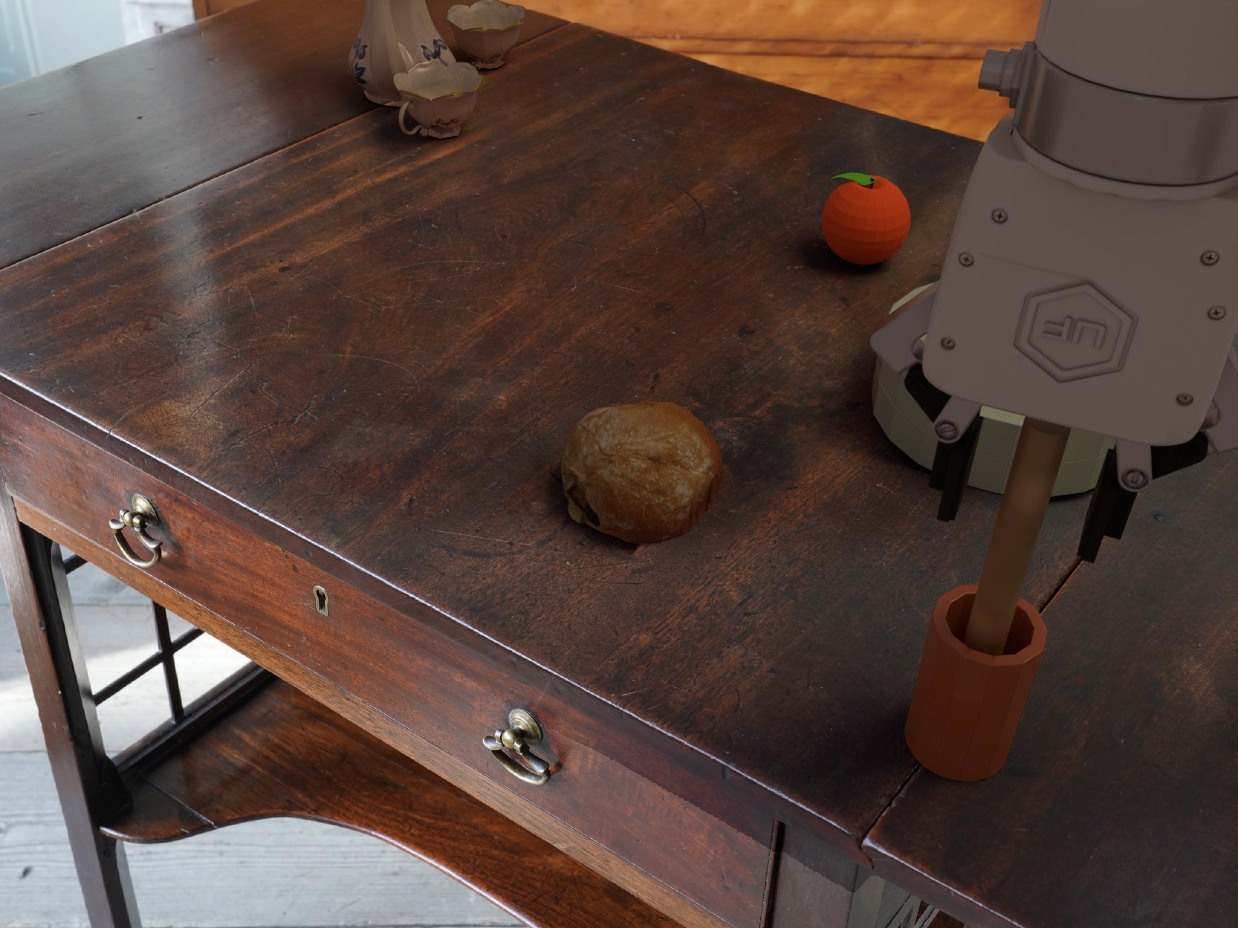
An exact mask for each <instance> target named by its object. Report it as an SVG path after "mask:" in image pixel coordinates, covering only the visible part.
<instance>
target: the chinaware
mask: <svg viewBox="0 0 1238 928" xmlns="http://www.w3.org/2000/svg"><path fill="white" fill-rule="evenodd" d="M526 13H527V11H526V9H525V7H524V6H523V5H520V4H513V5H507V4H504V3H502V2H501V1H499V0H478V1H476V2H474V3H473V4H471V5H465V4H461V3H459V4H453V5H450V7H449V8H447V10H446V17H444V21H445V25H446V26H447V27H450V29H451V31H452V34H453V37H454V40H455V42H456V44H457V45H458V47H459V48H460V50H461V51H462V52H463V53H465V54H466V55H467V56H468V57H470V58H471V59H472V60H473V59H474V60H479V62H481V64H483V63H485V64H493V63H496V62H497V61H498V60H499V59H501V60H502V58H505V57H506V56H507V55H509V54H510V53H511V52H512V51H513V49H514V48H515V46H516V45H517V42H518V40H519V37H520V33H521V28H522V25H523V23H524V22H525V20H526ZM347 64H348V67H349V69H350V70H351V71H352V76H353V79H354V81H355V82H356V83H357V85H358V86H359V87H361V88H362V89H363V91H364V90H366V91H367V93H368V94H369V95H371V96H373V97H375V98H378V99H381V100H386V101H393V102H402V101H404V104H403V106H402V107H400V109H399V113H398V124H399V128H400V130H401V132H402V133H404V134H405V135H408V136H413V135H414V134H416V133H417V132H418V130H419V129H420V130H419V134H420V136H422V137H428V136H427V135H428V134H429V130H428V128H430V129H431V130H433V131H435V132H436V133H440V135H443V134H444V133H455V130H454V129H456V128H455V127H457V126H462V124H463V123H465V122H466V121H467V120H468V119H469V118H470V117H471V115H472V113H473V111H474V110H475V107H476V104H477V100H478V96H479V91H480V89H481V88H482V87H483V86H485V85H486V83H487V78H486V77H485V75H484V74H480V72H479V70H478V68H476V67H475V66H473V64H471V62H466V61H457V60H456V58H455V55H454V54H453V53H452V51H451V50H450V48H449V46H448V44H447V42H446V41H445V39H444V38H443V36H442V35H441V34H440V32H439V31H438V29H437V28H436V27H435V24H434V22H433V20H432V18H431V15H430V12H429V9H428V6H427V3H426V0H365V7H364V13H363V19H362V24H361V28H360V30H359V33H358V35H357V37H356V38H355V40H354V43H353V45H352V46H351V49H350V51H349V54H348V58H347ZM406 111H407V112H408V114H409V115H410V116H411V118H412V119H413V120H414V121H415V122H417V123H418V124H419V125H417V126H415V127H414V128H413V129H412V130H411V131H408V130H407V129H406V127H405V113H406Z"/></svg>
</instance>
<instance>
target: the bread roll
mask: <svg viewBox="0 0 1238 928" xmlns="http://www.w3.org/2000/svg"><path fill="white" fill-rule="evenodd" d="M718 442H719V440H717V439H716V438H714V436H713V435H712V433H711V432H710V430H709V429H708V427H707V426H706V424H705V422H704V421H702V420H700V419H699V418H697V417H696V416H695V415H694V414H693V413H692V412H691V411H690V410H689V409H686V408H685V407H683V406H681V405H679V404H677V403H675V402H672V401H659V402H658V401H654V400H643V401H640V402H638V403H637V404H621V405H613V406H604V407H597V408H596V409H594V410H592V411H590V412H588V413H586V414H585V415H584V416H583V417H582V418H581V419H580V420H579V421H577V422H576V424H575V425H574V426H573V428H572V429H571V431H570V433H569V435H567V438H566V441H565V444H564V446H563V449H562V451H561V454H560V465H561V466H560V467H561V468H560V469H561V470H560V471H561V482H562V487H563V491H564V497H565V498H566V499H567V501H568V506H567V513H568V514H569V516H570V518H571V520H572V521H573V520H574V521H575V522H577V523H579V524H585V525H587V526H589V527H591V528H593V530H596V531H597V532H600V533H602V534H605V535H609V536H612V537H614V538H617V539H620V540H622V541H624V542H626V543H628V544H629V543H630V544H636V545H641V544H642V543H656V542H663V541H667V540H671V539H674V538H678V537H680V536H683V535H685V534H686V533H688V532H690V531H692V530H693V529H694V527H695V526H697V525H698V524H699V522H700V520H701V519H702V518H703V517H704V513H707V512H708V511H709V510H710V508H711V506H713V504H714V502H715V499H716V498H717V496H718V494H719V489H720V487H721V486H722V485H721V484H722V482H723V472H724V461H723V457H722V456H723V455H722V452H721V449H720V446H719V443H718Z"/></svg>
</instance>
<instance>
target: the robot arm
mask: <svg viewBox="0 0 1238 928" xmlns="http://www.w3.org/2000/svg"><path fill="white" fill-rule="evenodd" d="M977 89H978V90H983V91H990V92H996V93H998V97H1001V98H1007V99H1009V102H1008V108H1009V109H1014V111H1013V112H1010V113H1008V114H1007V115H1005V116H1003V117H1002V118H1001V119H1000V120H999V121H998V122H997V124H996V125H995V127H993V128H992V130H991V131H990V132H989V134H988V135H987V138H986V140H985V142H984V144H983V146H982V148H981V151H980V153H979V155H978V158H977V159H976V161H975V165H974V166H973V171H972V172H971V175H970V177H969V180H968V183H967V186H966V189H965V190H964V194H963V197H962V199H961V203H960V206H959V209H958V212H957V215H956V220H955V222H954V226H953V229H952V234H951V237H950V240H949V243H948V247H947V252H946V255H945V258H944V261H943V265H942V270H941V274H940V278H939V279H938V280H936V281H935V283H934V282H932V283H933V284H932V285H931V286H929V287H928V288H926V289H925V290H923V291H922V292H920V293H919V294H918V295H916V296H915V297H913V298H912V299H910V300H909V301H908V302H906V303H905V304H903V305H902V306H900V307H899V308H897V309H896V310H895V311H893V312H892V313H890V314H889V313H888V314H889V315H888V314H887V315H886V316H884V317H883V318H881V319H880V320H879V322H878V323H877V324H876V326H875V329H874V330H873V332H872V334H871V336H870V339H869V347H871V349H872V350H873V352H874V353H875V354H876V355H877V356H879V357H880V358H881V359H882V360H883V361H884V362H885V363H886V364H887V365H888V366H889V367H890V369H891V370H892V371H893V372H894V373H895V374H896V375H898V374H899V375H900V376H901V378H902V379H903V380H904V385H905V388H906V389H907V391H908V392H909V393H910V395H911V396H912V397H913V399H914V400H915V401H916V402H917V404H918V405H919V406H920V407H921V409H922V410H923V411H924V413H925V414H926V415H927V416H928V418H929V419H930V420H931V422H932V423H933V426H932V433H933V435H934V437H935V438H936V439H937V440H938V444H937V448H936V453H935V457H934V462H933V466H932V470H930V476H929V479H928V480H929V481H928V485H927V486H928V488H929V489H932V490H937V491H940V492H942V493H941V496H940V497H941V498H940V501H939V506H938V510H937V515H936V520H938V521H942V522H944V523H950V521H952V522H955V520H956V517H957V514H958V511H959V509H960V506H961V503H962V500H963V499H964V495H965V492H966V490H967V486H968V485H967V483H968V480H969V476H970V472H971V468H972V464H973V460H974V456H975V452H976V448H977V444H978V440H979V436H980V432H981V428H982V424H983V420H984V416H980V412H981V408H982V406H987V407H991V408H994V409H998V410H1002V411H1006V412H1010V413H1014V414H1018V415H1022V416H1026V417H1030V418H1034V419H1038V420H1042V421H1046V422H1050V423H1054V424H1058V425H1062V426H1066V427H1070V428H1074V429H1078V430H1082V431H1086V432H1090V433H1094V434H1099V435H1103V436H1107V437H1111V438H1115V439H1116V443H1115V446H1114V449H1110V448H1108V451H1107V454H1106V457H1105V460H1104V463H1103V466H1102V469H1101V472H1100V475H1099V478H1098V481H1097V484H1096V487H1095V488H1094V489H1093V493H1092V496H1091V498H1090V502H1089V505H1088V507H1087V511H1086V514H1085V518H1084V522H1083V526H1082V531H1081V535H1080V540H1079V544H1078V548H1077V551H1076V556H1077V557H1081V558H1080V561H1083V562H1087V563H1090V564H1095V561H1096V559H1097V557H1098V553H1099V550H1100V547H1101V546H1102V545H1101V544H1102V542H1103V539H1104V537H1108V538H1111V539H1115V540H1119V541H1120V540H1121V539H1122V537H1123V534H1124V531H1125V529H1126V526H1127V523H1128V520H1129V517H1130V515H1131V513H1132V510H1133V506H1134V504H1135V501H1136V499H1137V495H1138V493H1142V492H1145V491H1147V490H1149V488H1151V485H1152V483H1153V480H1157V479H1159V478H1161V477H1164V476H1168V475H1170V474H1173V473H1175V472H1178V471H1180V470H1183V469H1185V468H1189V467H1192V466H1194V465H1197V464H1200V463H1202V462H1203V461H1204V460H1205V459H1206V458H1207V457H1208V456H1211V455H1213V454H1216V455H1221V454H1225V453H1228V452H1231V451H1235V450H1238V351H1237V349H1236V347H1235V346H1234V344H1233V341H1234V338H1235V335H1236V332H1237V329H1238V0H1042V3H1041V7H1040V12H1039V16H1038V22H1037V27H1036V30H1035V35H1034V38H1033V41H1031V40H1025V43H1024V45H1023V47H1022V49H1021V48H1015V47H1011V48H1010V49H1009V51H1005V50H998V49H992V48H987V50H986V52H985V55H984V57H983V60H982V64H981V67H980V72H979V78H978V84H977ZM926 334H927V336H926V342H925V344H924V343H923V342H922V340H921V339H920V338H921V337H923V336H924V335H926ZM946 341H947V342H946ZM950 343H951V344H950ZM1211 403H1213V405H1214V407H1215V408H1214V409H1211V410H1209V408H1210V407H1211Z"/></svg>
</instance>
